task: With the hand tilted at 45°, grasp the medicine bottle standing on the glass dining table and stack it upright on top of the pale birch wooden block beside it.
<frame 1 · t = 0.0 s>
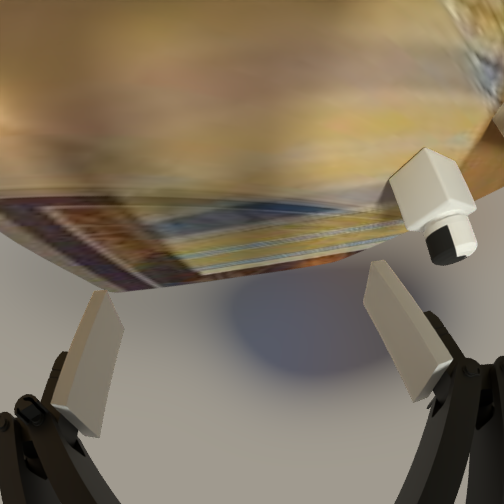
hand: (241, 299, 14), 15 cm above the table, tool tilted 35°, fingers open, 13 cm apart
medicine bottle: (422, 167, 31), on the table
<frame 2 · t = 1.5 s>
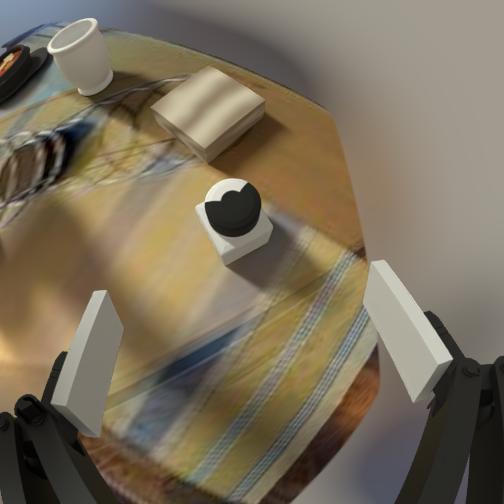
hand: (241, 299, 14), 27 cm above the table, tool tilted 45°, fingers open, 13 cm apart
birch block: (209, 119, 47), on the table
jar: (96, 82, 49), on the table
casserole: (15, 82, 50), on the table
medicine bottle: (234, 233, 43), on the table
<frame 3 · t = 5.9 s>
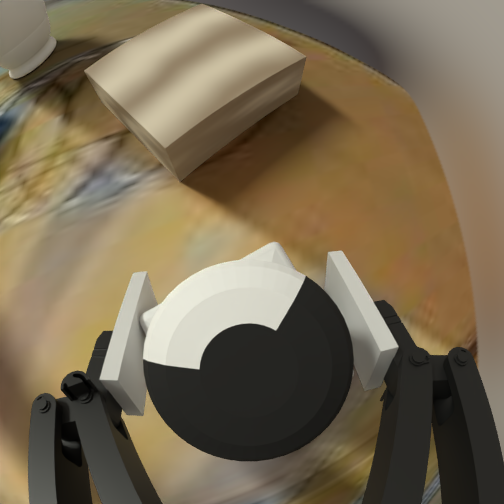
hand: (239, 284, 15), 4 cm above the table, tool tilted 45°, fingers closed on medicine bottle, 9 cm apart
birch block: (194, 94, 23), on the table
jar: (33, 59, 26), on the table
medicine bottle: (246, 340, 19), on the table, touching gripper
when the fingers open (11 cm above the table, at t = 12.3 s): medicine bottle drops 2 cm, resting on birch block.
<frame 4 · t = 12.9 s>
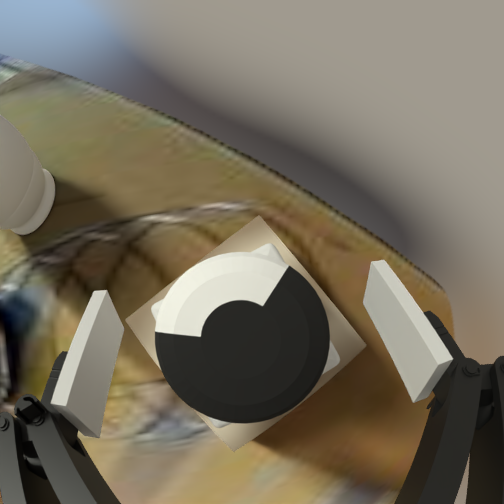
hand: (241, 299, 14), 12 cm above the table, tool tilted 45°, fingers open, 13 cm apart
birch block: (245, 334, 26), on the table, touching medicine bottle
jar: (31, 202, 28), on the table
medicine bottle: (246, 336, 21), point 4 cm above the table, touching birch block
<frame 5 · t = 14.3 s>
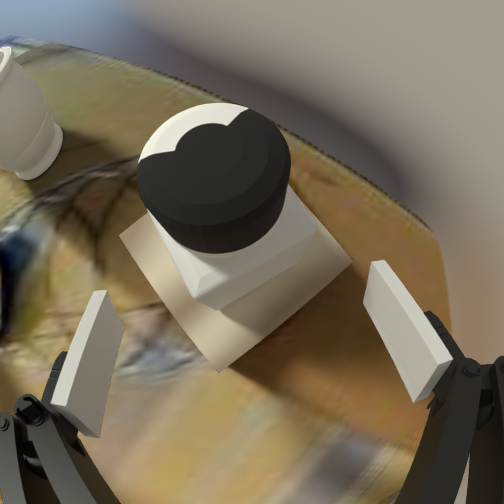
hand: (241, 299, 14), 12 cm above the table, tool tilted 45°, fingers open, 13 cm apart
birch block: (234, 260, 27), on the table, touching medicine bottle
jar: (39, 152, 29), on the table
medicine bottle: (233, 245, 22), point 5 cm above the table, touching birch block
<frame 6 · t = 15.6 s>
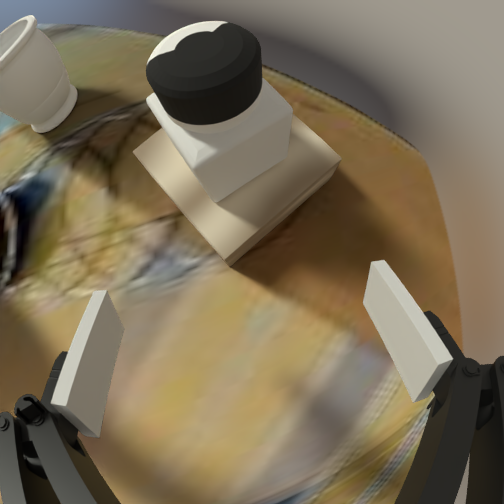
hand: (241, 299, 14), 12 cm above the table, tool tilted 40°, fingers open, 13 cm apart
birch block: (237, 174, 29), on the table
jar: (55, 109, 31), on the table
medicine bottle: (228, 149, 24), point 5 cm above the table
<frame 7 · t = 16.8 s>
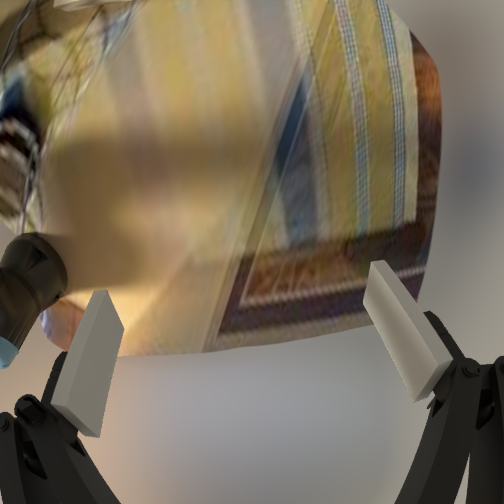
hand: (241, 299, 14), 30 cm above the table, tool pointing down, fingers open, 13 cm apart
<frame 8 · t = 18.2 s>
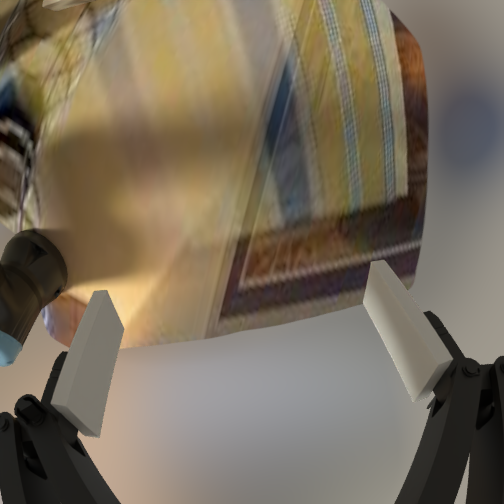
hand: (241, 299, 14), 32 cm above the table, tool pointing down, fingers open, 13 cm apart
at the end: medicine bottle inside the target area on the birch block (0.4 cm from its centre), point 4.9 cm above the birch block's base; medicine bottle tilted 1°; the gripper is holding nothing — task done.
